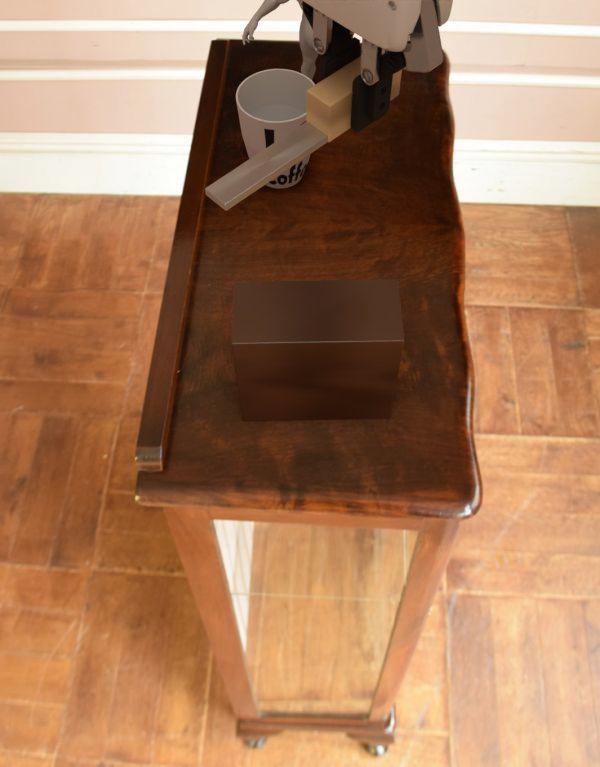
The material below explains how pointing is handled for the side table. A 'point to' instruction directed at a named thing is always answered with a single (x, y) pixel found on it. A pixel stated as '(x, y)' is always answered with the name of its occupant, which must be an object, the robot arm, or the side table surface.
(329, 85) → the knife
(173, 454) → the side table surface
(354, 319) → the dark rectangular block
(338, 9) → the robot arm
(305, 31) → the figurine
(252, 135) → the cup
